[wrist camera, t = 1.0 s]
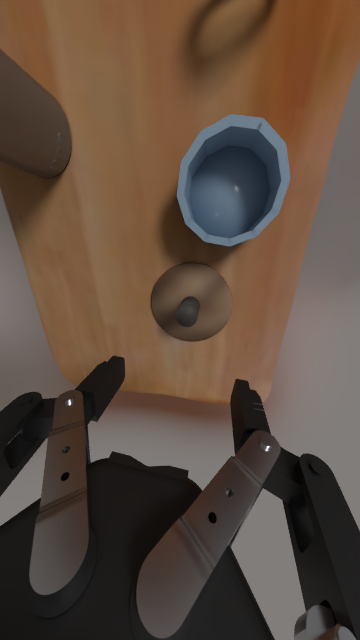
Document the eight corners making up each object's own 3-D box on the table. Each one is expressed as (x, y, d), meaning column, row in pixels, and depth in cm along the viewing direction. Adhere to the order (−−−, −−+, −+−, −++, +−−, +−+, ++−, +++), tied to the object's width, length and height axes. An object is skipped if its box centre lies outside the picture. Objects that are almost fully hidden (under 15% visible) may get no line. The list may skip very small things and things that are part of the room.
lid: (138, 305, 32) (123, 318, 27) (186, 243, 27) (180, 244, 22) (194, 351, 34) (190, 372, 29) (250, 301, 29) (258, 315, 24)
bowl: (168, 205, 25) (158, 198, 21) (227, 116, 21) (231, 82, 16) (226, 261, 27) (229, 265, 22) (294, 188, 22) (314, 175, 18)
